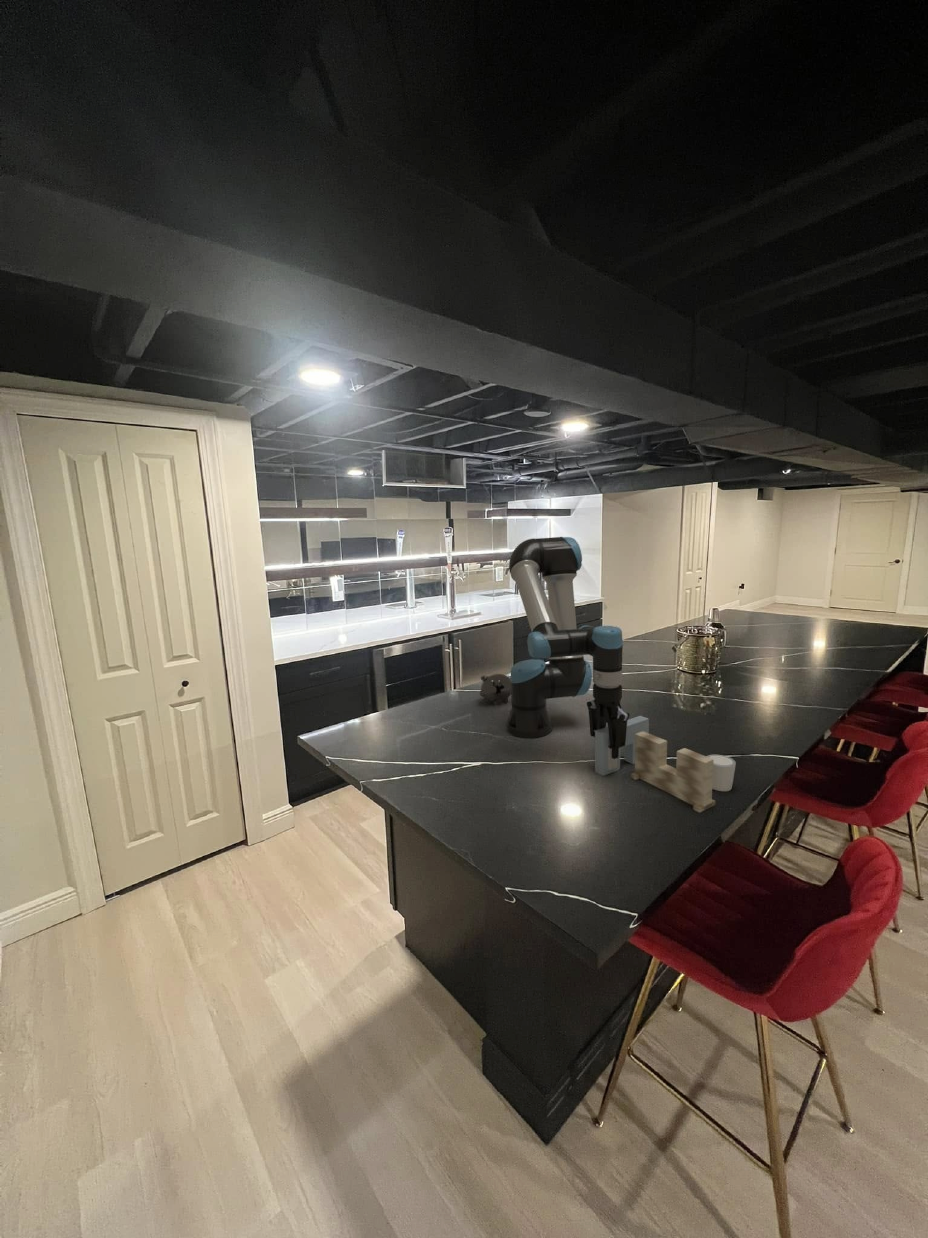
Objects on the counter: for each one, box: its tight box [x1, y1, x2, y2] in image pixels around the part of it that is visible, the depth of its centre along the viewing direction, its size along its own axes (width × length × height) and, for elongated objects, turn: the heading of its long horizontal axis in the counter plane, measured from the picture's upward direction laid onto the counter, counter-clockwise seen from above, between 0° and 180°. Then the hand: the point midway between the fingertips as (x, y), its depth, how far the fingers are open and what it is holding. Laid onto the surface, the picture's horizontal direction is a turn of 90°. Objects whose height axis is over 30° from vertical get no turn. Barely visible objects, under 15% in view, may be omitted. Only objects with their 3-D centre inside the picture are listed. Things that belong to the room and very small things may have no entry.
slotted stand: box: [630, 731, 716, 814], centre depth 120 cm, size 20×6×12 cm, turn 30°
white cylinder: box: [706, 753, 737, 792], centre depth 122 cm, size 7×7×7 cm
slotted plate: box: [594, 715, 650, 777], centre depth 134 cm, size 18×3×12 cm, turn 120°
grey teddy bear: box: [479, 673, 511, 706], centre depth 189 cm, size 11×15×12 cm
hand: (607, 765), depth 132 cm, fingers closed on slotted plate, 3 cm apart
